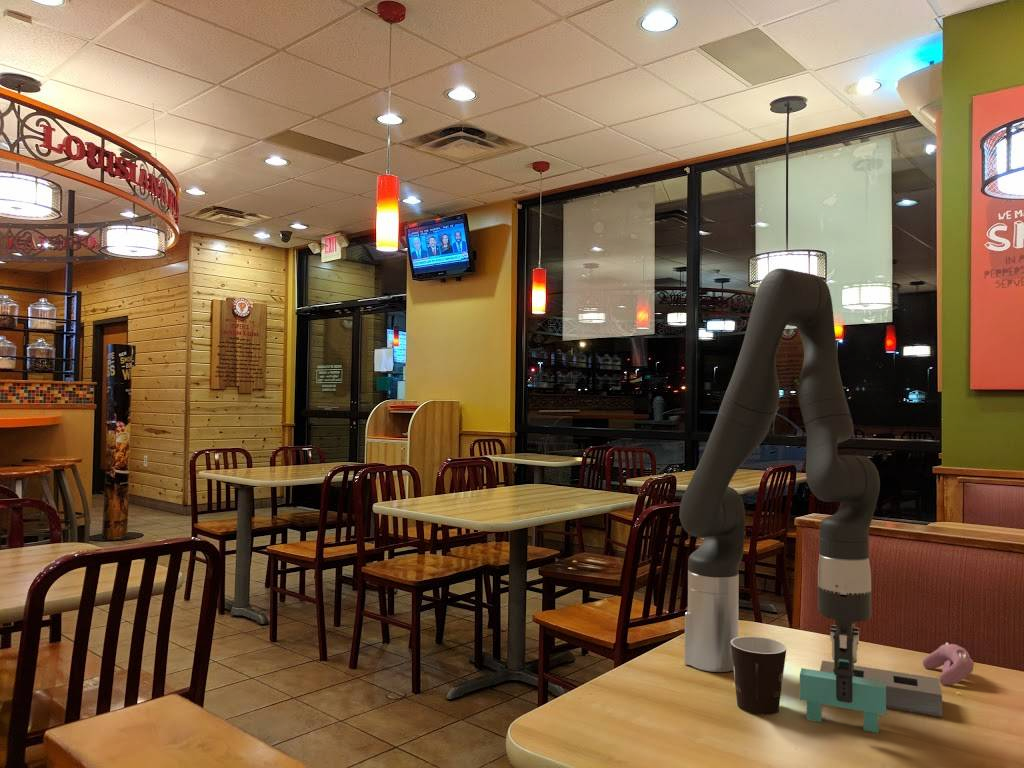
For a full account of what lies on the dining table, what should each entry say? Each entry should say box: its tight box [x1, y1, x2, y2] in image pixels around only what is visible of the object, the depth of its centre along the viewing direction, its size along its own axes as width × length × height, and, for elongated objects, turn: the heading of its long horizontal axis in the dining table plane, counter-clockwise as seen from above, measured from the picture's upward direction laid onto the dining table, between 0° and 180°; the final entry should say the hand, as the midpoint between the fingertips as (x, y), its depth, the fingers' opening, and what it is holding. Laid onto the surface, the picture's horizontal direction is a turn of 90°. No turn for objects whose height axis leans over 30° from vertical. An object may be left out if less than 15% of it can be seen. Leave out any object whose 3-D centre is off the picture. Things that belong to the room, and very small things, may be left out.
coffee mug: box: [731, 635, 787, 716], centre depth 120 cm, size 12×9×10 cm
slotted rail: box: [819, 660, 943, 718], centre depth 125 cm, size 18×8×4 cm, turn 64°
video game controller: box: [922, 642, 975, 686], centre depth 135 cm, size 10×5×7 cm, turn 169°
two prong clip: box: [799, 667, 887, 734], centre depth 115 cm, size 12×3×7 cm, turn 64°
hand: (845, 691), depth 115 cm, fingers open, 8 cm apart
